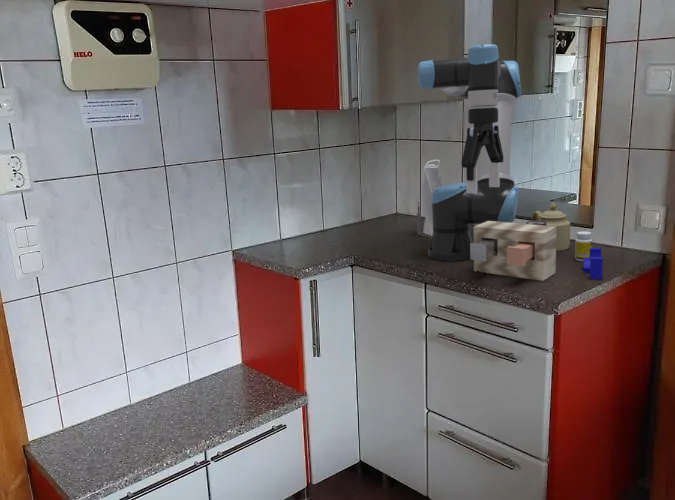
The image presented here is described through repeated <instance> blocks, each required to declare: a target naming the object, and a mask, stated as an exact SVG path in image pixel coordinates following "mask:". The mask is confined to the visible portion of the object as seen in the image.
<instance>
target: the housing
mask: <svg viewBox="0 0 675 500" xmlns="http://www.w3.org/2000/svg"><path fill="white" fill-rule="evenodd" d="M556 229H557V227H556V226H544V225H532V224H527V223H518V222H512V223H508V222H496V221H486V222H484V223H481V224H475V226H473V242H474V243H478V242H481V241H483V240H485V239H487V238H492V239H498V252H497V253H495V254H493V255H491V256H489V257H488V261H479V260H473V271H474V272H477V271H479V273H484V272H485V273H486V274H492V275H498V276H507V277H513V278H520V279H529V280H535V281H542V282H544V281H545V280H547V279H548V278H549V277H552V275H555V274H556V269H557V267H556V266H557V251H556ZM523 242H531V243H535V256H534V257H533V258H531V259H529V260H527V261H526V262H525V266H518V265H510V264H507V247H508V246H511V247H515V246H517V245H519V244H521V243H523ZM485 273H484V274H485Z"/></svg>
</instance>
